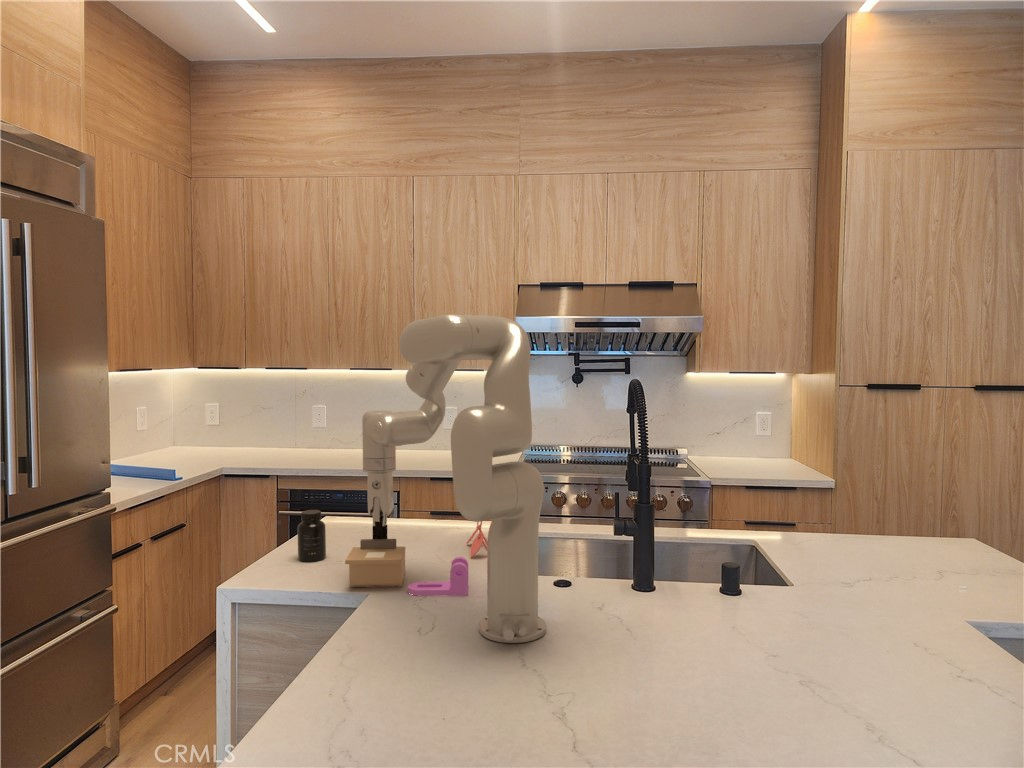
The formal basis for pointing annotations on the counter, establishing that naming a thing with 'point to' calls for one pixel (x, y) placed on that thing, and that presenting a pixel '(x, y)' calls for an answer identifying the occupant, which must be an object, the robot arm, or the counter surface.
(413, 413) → the robot arm
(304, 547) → the supplement bottle
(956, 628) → the counter surface
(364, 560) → the mailer lid
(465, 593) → the bracket
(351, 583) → the mailer box
